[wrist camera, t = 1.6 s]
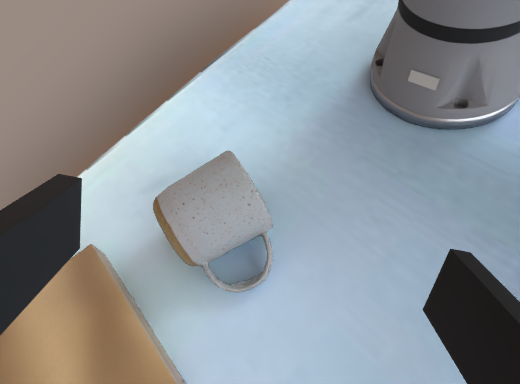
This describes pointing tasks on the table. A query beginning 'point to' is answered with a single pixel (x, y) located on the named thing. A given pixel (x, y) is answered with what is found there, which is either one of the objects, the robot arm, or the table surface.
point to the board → (84, 332)
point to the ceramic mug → (214, 216)
